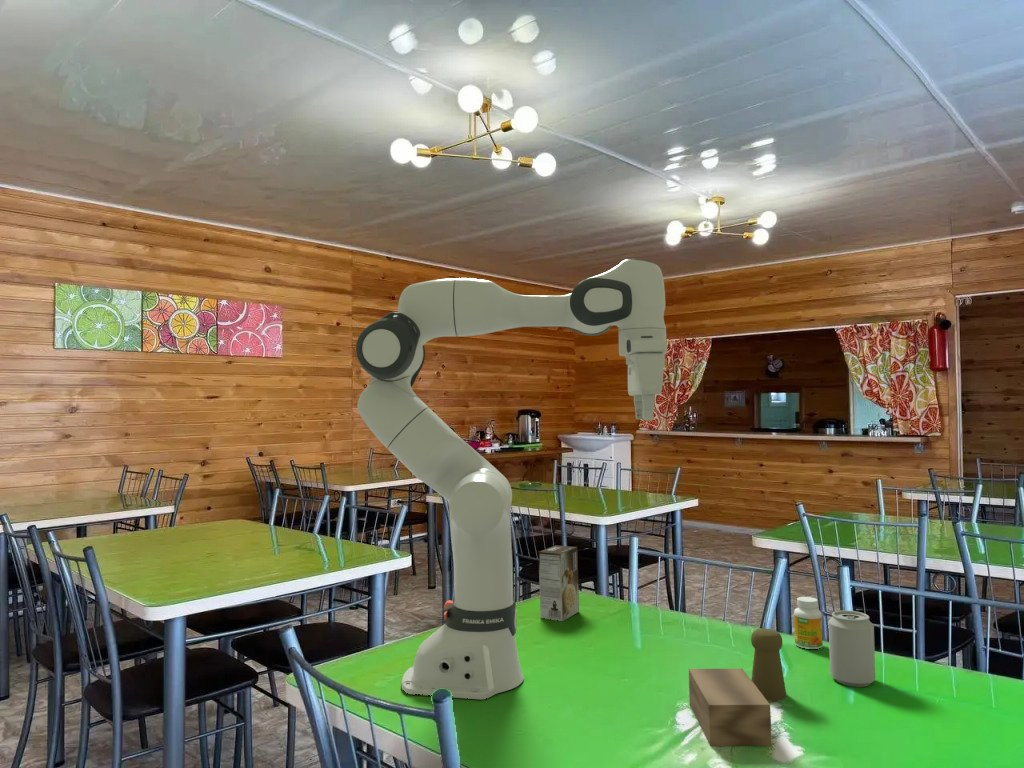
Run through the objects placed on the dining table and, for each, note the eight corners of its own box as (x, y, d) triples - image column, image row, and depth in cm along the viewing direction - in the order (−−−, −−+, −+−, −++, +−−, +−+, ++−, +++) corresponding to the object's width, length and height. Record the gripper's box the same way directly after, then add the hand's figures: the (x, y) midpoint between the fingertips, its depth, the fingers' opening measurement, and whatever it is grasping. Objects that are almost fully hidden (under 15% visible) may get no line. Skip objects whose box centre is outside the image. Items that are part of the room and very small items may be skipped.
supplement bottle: (794, 649, 150) (793, 601, 151) (795, 641, 155) (793, 594, 156) (823, 651, 148) (821, 603, 149) (822, 643, 153) (821, 596, 154)
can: (875, 676, 135) (872, 610, 135) (876, 691, 128) (873, 621, 128) (830, 670, 138) (828, 606, 138) (829, 684, 131) (827, 617, 131)
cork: (789, 701, 124) (787, 636, 124) (752, 699, 125) (750, 634, 126) (783, 688, 130) (781, 625, 130) (748, 686, 131) (746, 624, 131)
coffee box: (556, 608, 183) (555, 544, 184) (579, 612, 180) (578, 546, 181) (539, 618, 176) (537, 551, 176) (563, 622, 172) (561, 553, 173)
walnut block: (710, 745, 109) (709, 704, 109) (689, 704, 124) (688, 668, 124) (771, 745, 108) (770, 704, 109) (743, 704, 123) (742, 668, 123)
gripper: (619, 350, 148) (621, 419, 147) (632, 341, 127) (634, 421, 127) (651, 349, 147) (652, 418, 147) (668, 340, 127) (670, 420, 127)
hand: (644, 419), depth 137 cm, fingers open, 8 cm apart
